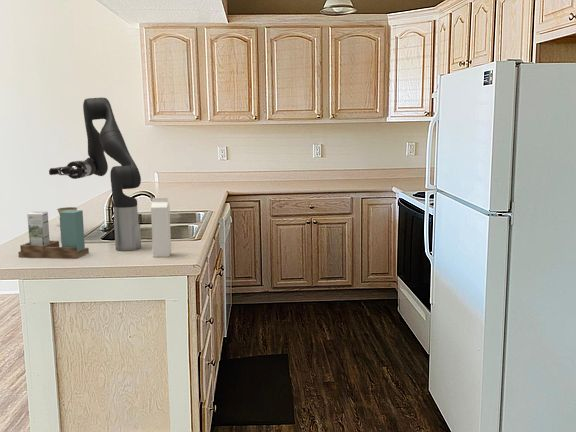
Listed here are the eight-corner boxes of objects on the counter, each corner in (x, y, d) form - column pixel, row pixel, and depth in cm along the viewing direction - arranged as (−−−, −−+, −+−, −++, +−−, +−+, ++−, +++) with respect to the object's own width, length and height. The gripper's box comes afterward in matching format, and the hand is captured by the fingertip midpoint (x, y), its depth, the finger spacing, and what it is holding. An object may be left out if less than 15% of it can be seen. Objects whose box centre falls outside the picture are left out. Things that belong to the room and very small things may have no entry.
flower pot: (61, 228, 279) (60, 210, 278) (55, 225, 286) (54, 208, 285) (81, 225, 285) (80, 208, 284) (74, 223, 292) (73, 206, 291)
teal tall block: (84, 248, 222) (82, 210, 219) (77, 252, 216) (74, 212, 214) (68, 248, 223) (66, 210, 220) (60, 251, 217) (58, 212, 214)
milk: (155, 253, 222) (153, 197, 219) (171, 253, 222) (169, 196, 219) (152, 257, 216) (150, 198, 213) (169, 256, 216) (166, 198, 213)
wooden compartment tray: (88, 252, 224) (88, 241, 223) (76, 258, 214) (75, 246, 213) (33, 251, 227) (32, 240, 226) (18, 257, 217) (17, 245, 216)
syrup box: (50, 247, 224) (48, 210, 222) (44, 251, 218) (41, 213, 216) (36, 247, 224) (33, 211, 222) (29, 251, 218) (26, 213, 216)
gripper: (63, 160, 252) (43, 163, 237) (93, 160, 251) (75, 163, 235) (64, 177, 254) (44, 181, 238) (94, 178, 252) (76, 181, 236)
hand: (60, 172), depth 236 cm, fingers open, 8 cm apart
